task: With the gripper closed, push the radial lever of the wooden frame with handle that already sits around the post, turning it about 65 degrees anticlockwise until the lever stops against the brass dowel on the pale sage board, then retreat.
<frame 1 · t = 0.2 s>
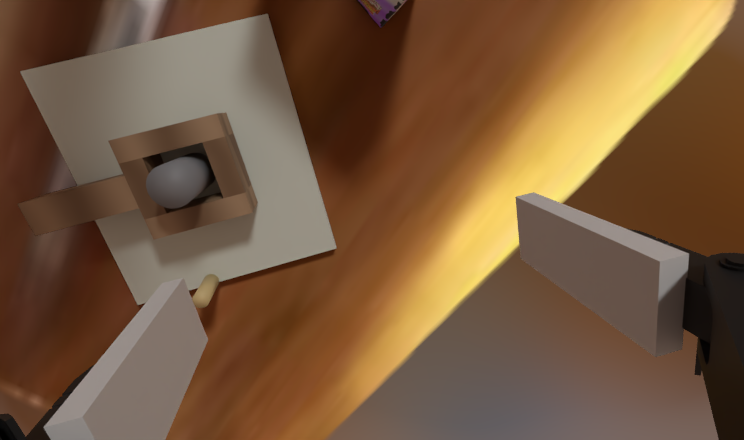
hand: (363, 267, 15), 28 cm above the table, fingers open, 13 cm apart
post board: (200, 168, 39), on the table
wooden frame with handle: (142, 187, 35), point 4 cm above the table, hinge at -90.0°
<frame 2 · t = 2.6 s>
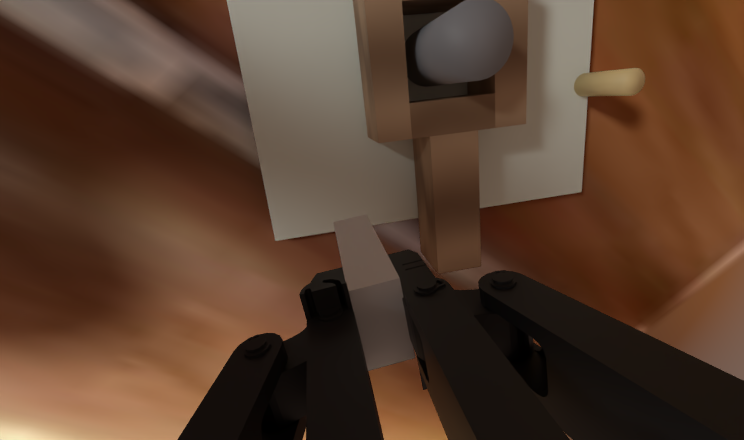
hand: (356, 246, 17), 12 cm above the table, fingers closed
post board: (422, 59, 26), on the table
wooden frame with handle: (442, 129, 25), point 3 cm above the table, hinge at -90.0°
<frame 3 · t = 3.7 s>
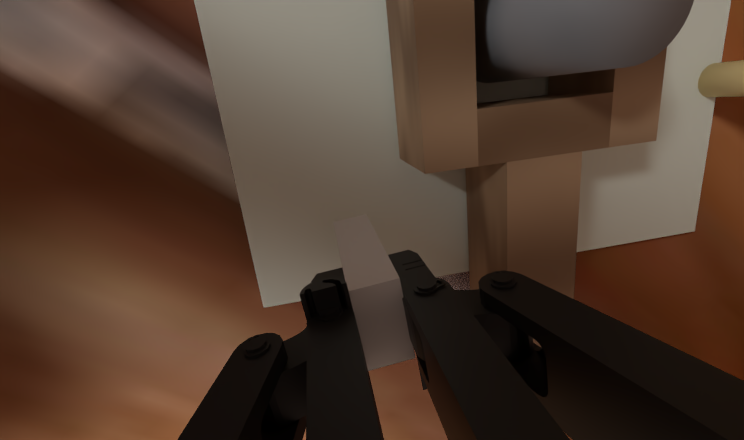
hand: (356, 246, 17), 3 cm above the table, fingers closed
post board: (479, 43, 18), on the table
wooden frame with handle: (517, 148, 16), point 3 cm above the table, hinge at -90.0°
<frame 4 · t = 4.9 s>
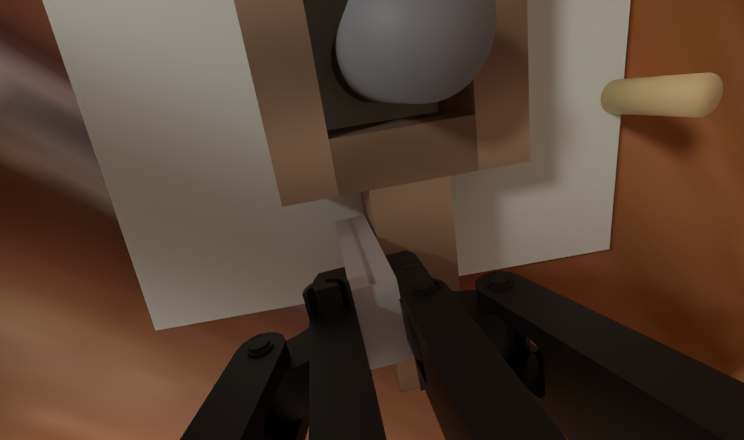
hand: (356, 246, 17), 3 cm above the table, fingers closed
post board: (369, 61, 17), on the table
wooden frame with handle: (397, 170, 16), point 3 cm above the table, hinge at -88.0°, touching gripper
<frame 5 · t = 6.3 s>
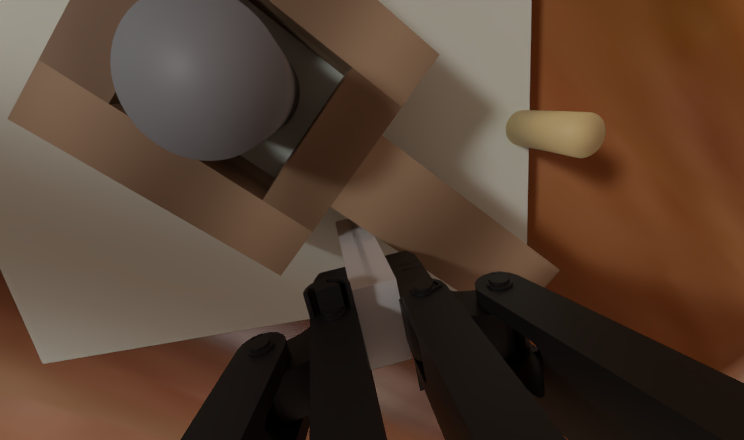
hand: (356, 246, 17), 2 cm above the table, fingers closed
post board: (259, 90, 17), on the table
wooden frame with handle: (348, 161, 15), point 3 cm above the table, hinge at -42.7°, touching gripper
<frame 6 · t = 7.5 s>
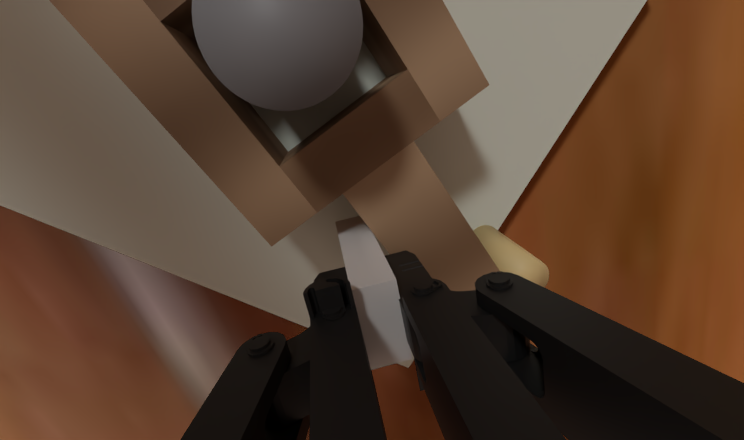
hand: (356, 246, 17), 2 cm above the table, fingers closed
post board: (299, 63, 17), on the table
wooden frame with handle: (368, 157, 15), point 4 cm above the table, hinge at -25.0°, touching gripper, post board
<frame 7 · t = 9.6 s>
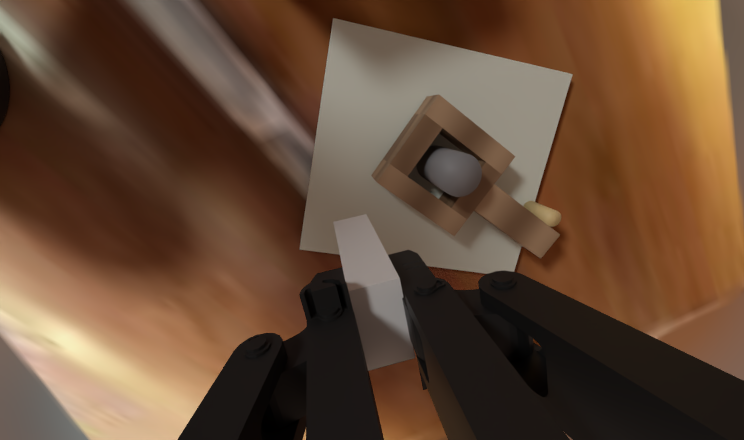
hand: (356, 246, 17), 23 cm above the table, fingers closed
post board: (430, 161, 40), on the table
wooden frame with handle: (475, 192, 38), point 3 cm above the table, hinge at -25.0°, touching post board
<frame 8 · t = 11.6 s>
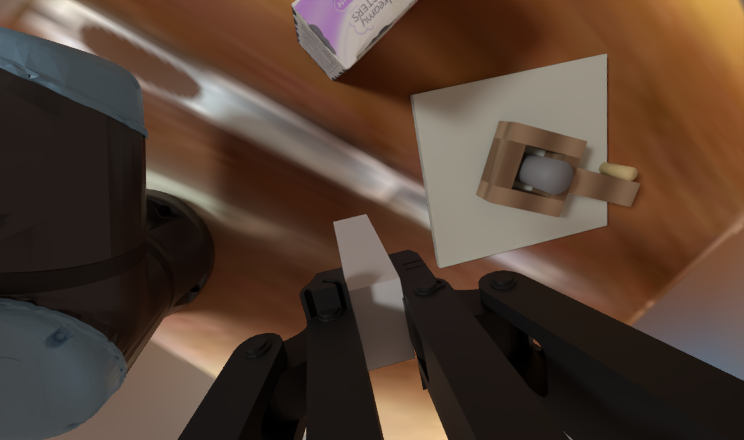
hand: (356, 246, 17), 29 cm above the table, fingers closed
candy box: (360, 17, 41), on the table
post board: (514, 164, 49), on the table
wooden frame with handle: (561, 177, 46), point 3 cm above the table, hinge at -25.0°, touching post board
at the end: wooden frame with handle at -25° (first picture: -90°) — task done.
